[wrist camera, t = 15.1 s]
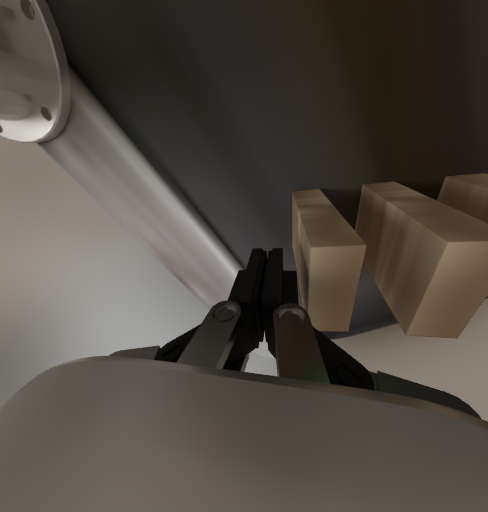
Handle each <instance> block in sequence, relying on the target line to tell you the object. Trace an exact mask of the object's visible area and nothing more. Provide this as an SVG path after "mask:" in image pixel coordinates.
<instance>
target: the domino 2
mask: <svg viewBox="0 0 488 512" xmlns="http://www.w3.org/2000/svg"><path fill="white" fill-rule="evenodd" d="M355 232H356V233H357V234H358V235H359V236H360V238H361V239H362V240H363V241H364V242H365V243H366V245H367V246H366V250H365V255H364V260H363V263H364V265H365V267H366V269H367V270H368V272H369V274H370V275H371V277H372V279H373V280H374V282H375V284H376V285H377V287H378V289H379V291H380V292H381V294H382V296H383V297H384V299H385V301H386V302H387V304H388V306H389V308H390V309H391V311H392V313H393V314H394V316H395V318H396V319H397V321H398V323H399V324H400V326H401V328H402V329H403V331H404V333H405V335H410V336H426V337H442V338H458V337H459V335H460V334H461V332H462V331H463V329H464V328H465V327H466V325H467V324H468V322H469V321H470V319H471V318H472V316H473V315H474V313H475V312H476V310H477V309H478V308H479V306H480V305H481V303H482V302H483V300H484V299H485V297H486V296H487V294H488V223H485V222H483V221H481V220H479V219H476V218H474V217H472V216H470V215H468V214H465V213H463V212H461V211H459V210H456V209H454V208H452V207H450V206H448V205H445V204H443V203H441V202H439V201H436V200H434V199H432V198H430V197H428V196H425V195H423V194H421V193H419V192H416V191H414V190H412V189H410V188H408V187H405V186H403V185H401V184H399V183H396V182H383V183H373V184H363V185H362V191H361V197H360V203H359V209H358V214H357V220H356V226H355Z"/></svg>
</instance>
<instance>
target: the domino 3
mask: <svg viewBox="0 0 488 512" xmlns="http://www.w3.org/2000/svg"><path fill="white" fill-rule="evenodd" d="M437 201H439V202H441V203H443V204H445V205H448V206H450V207H452V208H454V209H456V210H459V211H461V212H463V213H465V214H468V215H470V216H472V217H474V218H476V219H479V220H481V221H483V222H485V223H488V174H485V173H479V174H468V175H457V176H447V177H445V180H444V182H443V185H442V188H441V190H440V193H439V195H438V198H437ZM487 297H488V294H487Z"/></svg>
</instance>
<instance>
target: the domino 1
mask: <svg viewBox="0 0 488 512" xmlns="http://www.w3.org/2000/svg"><path fill="white" fill-rule="evenodd" d="M292 220H293V251H294V257H295V263H296V269H297V275H298V281H299V287H300V293H301V298H302V304H303V308H304V309H305V310H306V311H307V312H308V314H309V317H310V320H311V323H312V326H313V327H314V328H316V329H317V330H318V331H348V329H349V325H350V320H351V315H352V311H353V306H354V301H355V297H356V292H357V288H358V283H359V278H360V274H361V269H362V264H363V260H364V255H365V250H366V246H367V245H366V243H365V242H364V241H363V240H362V239H361V238H360V236H359V235H358V234H357V233H356V232H355V230H354V229H353V228H352V227H351V226H350V225H349V223H348V222H347V221H346V220H345V219H344V217H343V216H342V215H341V214H340V213H339V212H338V210H337V209H336V208H335V207H334V206H333V204H332V203H331V202H330V201H329V200H328V199H327V197H326V196H325V195H324V194H323V193H322V191H321V190H320V189H310V190H301V191H292Z"/></svg>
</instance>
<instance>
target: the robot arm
mask: <svg viewBox="0 0 488 512" xmlns="http://www.w3.org/2000/svg"><path fill="white" fill-rule="evenodd" d="M70 105H71V80H70V74H69V68H68V63H67V58H66V54H65V51H64V47H63V44H62V41H61V37H60V34H59V31H58V29H57V26H56V24H55V21H54V19H53V16H52V14H51V12H50V9H49V7H48V4H47V2H46V1H45V0H0V136H2V137H5V138H7V139H10V140H12V141H17V142H22V143H40V142H45V141H49V140H51V139H53V138H54V137H56V136H57V135H58V134H59V133H60V132H61V131H62V129H63V128H64V127H65V124H66V122H67V119H68V117H69V112H70ZM264 330H265V338H266V342H268V350H269V352H270V353H271V354H272V355H273V356H274V357H275V358H276V363H277V373H278V377H277V376H270V375H262V374H255V373H248V372H244V371H245V368H246V365H247V362H248V359H249V353H250V352H251V351H253V350H254V349H255V348H258V347H259V342H263V338H264ZM0 512H488V422H487V421H484V420H482V419H481V418H480V416H479V415H478V414H477V413H476V412H475V411H474V410H473V409H472V408H471V407H470V406H469V405H468V404H467V403H465V402H464V401H462V400H461V399H459V398H458V397H456V396H454V395H451V394H449V393H446V392H444V391H440V390H437V389H434V388H430V387H428V386H424V385H421V384H418V383H415V382H412V381H408V380H405V379H402V378H399V377H396V376H392V375H389V374H386V373H383V372H380V371H377V374H376V373H373V372H370V371H368V370H367V369H366V368H365V367H364V366H363V365H362V364H361V363H359V362H358V361H357V360H355V359H354V358H353V357H352V356H350V355H349V354H347V353H346V352H345V351H344V350H343V349H341V348H340V347H339V346H337V345H336V344H335V343H334V342H332V341H331V340H330V339H328V338H327V337H326V336H325V335H323V334H322V333H321V332H320V331H318V330H317V329H316V328H314V327H313V326H312V323H311V320H310V317H309V314H308V312H307V311H306V310H305V309H304V308H303V307H301V306H299V305H298V288H297V271H283V249H282V248H273V249H272V251H269V253H268V259H267V252H266V251H263V249H262V248H254V249H253V250H252V253H251V256H250V259H249V262H248V265H247V269H246V270H239V271H238V274H237V277H236V279H235V282H234V285H233V287H232V290H231V293H230V296H229V298H228V301H222V302H219V303H217V304H216V305H214V306H213V307H212V308H211V309H210V311H209V313H208V314H207V316H206V317H205V319H204V320H203V322H202V323H201V324H200V325H198V326H197V327H195V328H193V329H191V330H190V331H188V332H186V333H184V334H183V335H181V336H179V337H177V338H176V339H174V340H172V341H170V342H169V343H167V344H166V345H165V346H163V347H162V348H160V346H152V347H145V348H136V349H129V350H120V351H117V352H114V353H113V354H111V355H109V356H95V357H87V358H81V359H77V360H73V361H69V362H65V363H62V364H59V365H57V366H54V367H52V368H50V369H48V370H46V371H44V372H42V373H41V374H39V375H38V376H36V377H35V378H34V379H32V380H31V381H30V382H28V383H27V384H26V385H25V386H24V387H23V388H21V389H20V390H19V391H18V392H17V393H15V394H14V395H13V396H12V397H11V398H10V399H9V400H8V401H6V402H5V403H4V404H3V405H2V406H1V407H0Z"/></svg>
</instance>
